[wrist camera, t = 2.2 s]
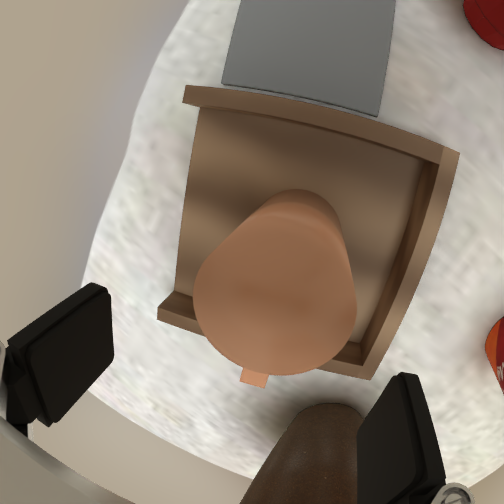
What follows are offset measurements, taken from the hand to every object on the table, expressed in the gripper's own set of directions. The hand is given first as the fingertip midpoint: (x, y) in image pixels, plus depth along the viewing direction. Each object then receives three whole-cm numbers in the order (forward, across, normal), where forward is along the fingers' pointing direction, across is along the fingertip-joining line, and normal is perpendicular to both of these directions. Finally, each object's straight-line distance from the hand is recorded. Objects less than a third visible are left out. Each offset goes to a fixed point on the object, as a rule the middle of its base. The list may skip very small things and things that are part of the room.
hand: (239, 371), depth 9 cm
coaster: (+14, +1, -16) cm, 21 cm away
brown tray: (+15, -1, -1) cm, 15 cm away
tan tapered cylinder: (+14, -1, +1) cm, 14 cm away
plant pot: (+15, -10, +18) cm, 26 cm away
